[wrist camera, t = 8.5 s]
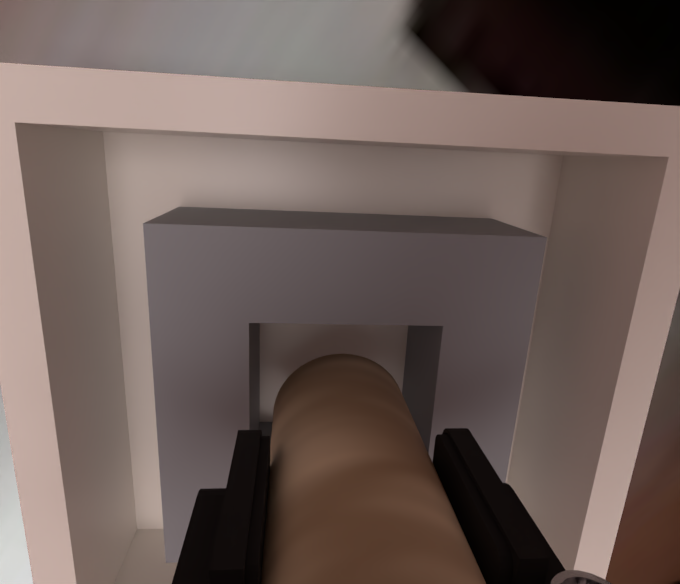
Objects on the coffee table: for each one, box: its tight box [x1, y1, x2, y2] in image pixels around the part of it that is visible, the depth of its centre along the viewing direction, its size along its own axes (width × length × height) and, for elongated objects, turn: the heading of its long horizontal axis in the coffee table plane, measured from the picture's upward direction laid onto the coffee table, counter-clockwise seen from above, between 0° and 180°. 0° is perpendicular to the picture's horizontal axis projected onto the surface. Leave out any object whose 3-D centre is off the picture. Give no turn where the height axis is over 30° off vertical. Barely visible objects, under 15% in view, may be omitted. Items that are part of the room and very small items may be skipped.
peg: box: [261, 354, 486, 584], centre depth 10 cm, size 4×4×10 cm
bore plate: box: [143, 207, 547, 563], centre depth 16 cm, size 11×11×4 cm
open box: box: [0, 63, 680, 584], centre depth 16 cm, size 18×18×6 cm
